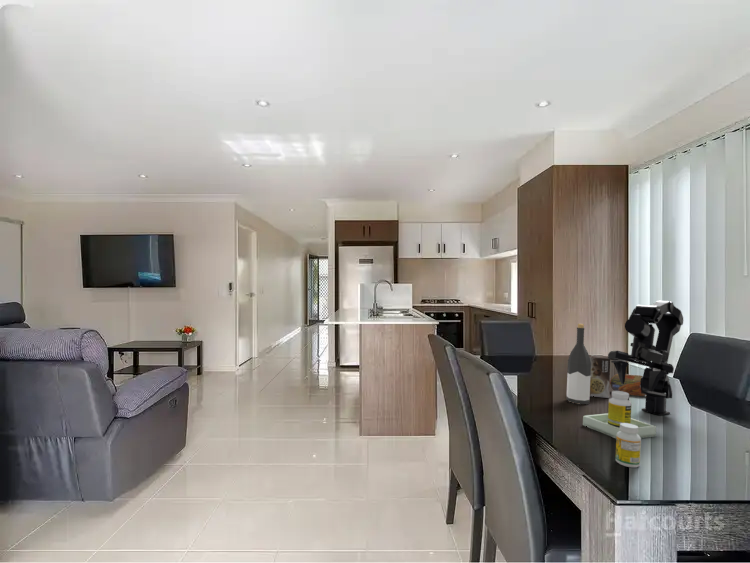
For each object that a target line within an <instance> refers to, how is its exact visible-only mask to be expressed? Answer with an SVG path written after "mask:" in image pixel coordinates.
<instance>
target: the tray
mask: <svg viewBox="0 0 750 563" xmlns="http://www.w3.org/2000/svg"><path fill="white" fill-rule="evenodd" d="M631 424H633V425H636V426H638V433H637V434H638V435H639V436H640V437H641V439H646V438H653V437H654V438H655V437H657V426H656V425H653V424H651V423H647V422H645V421H641V420H638V419H635V418H632V417H631ZM582 426H584V427H586V426H587V428H589V429H591V430H594V431H597V432H599V433H601V434H604V435H606V436H609V437H612V438H613V439H616V435H617V433H618V432H619V431H621V430H620V428H617V427H615V426H612V425H609V424H608V412H607V413H599V414H586V415H583V416H582Z"/></svg>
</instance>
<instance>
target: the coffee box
mask: <svg viewBox="0 0 750 563" xmlns="http://www.w3.org/2000/svg"><path fill="white" fill-rule="evenodd" d="M589 357H590V361H591V376H590V397H593V396H594V398H595V397H596V398H606V399H610V393H611V392H610V391H611V390H610V387H611V385H610V380H611V360H610V359H608V355H595V354H589Z"/></svg>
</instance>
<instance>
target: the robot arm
mask: <svg viewBox="0 0 750 563" xmlns="http://www.w3.org/2000/svg"><path fill="white" fill-rule="evenodd" d="M683 324H684V316H683V312H682V311H681V309H679V308H678V307H676V306H675V305H674V302H673V301H671V300H656V301H655V302H654V303H653V302H652V303H651V304H649V305H643V304H637V305H636V306H635V307H634V308H633V310H632V312H631V314H630V316H629V317H628V319H627V320H626V321H625V323H624V329H625V330H626V332H627V333H629V335H631V336H633V340H632V342H631V343H630V347H631V353H630V354H629V353H628V352H625V351H621V350H610V351H609V352H608V354H607V356H608V359H610V363H612V364H613V366H614V367H615V369H616V372H617V374H618V375H619V379H620V382H621V384H624V382H625V375H626V374H627V373H626V372H627V367H628V365H630V364H629V363H631V364H632V363H633V364H637V365H640V366H645V368H644V369H643V374H642V376H643V377H641V380H640V385H641V393H642V394H646V395H645V407H642V408H641V411H643V412H646V413H650V414H653V415H657V416H663V415H664V416H665V415H669V414H670V415H671V411H667V399H673V389H672V386H671V382H670V378H669V374H674V370H675V368H674V366H673V364H672V363H669V357H670V353H671V349H672V348H671V346H672V343H673V339H674V336H675V335H676V334H678V333H679V332H680V330H681V327H682V326H683ZM653 325H656V327H657V329H658V334H657V339H656V341H655V342H656V343H655V345H654V339H655V333H656V329H655V327H654V326H653Z"/></svg>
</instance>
